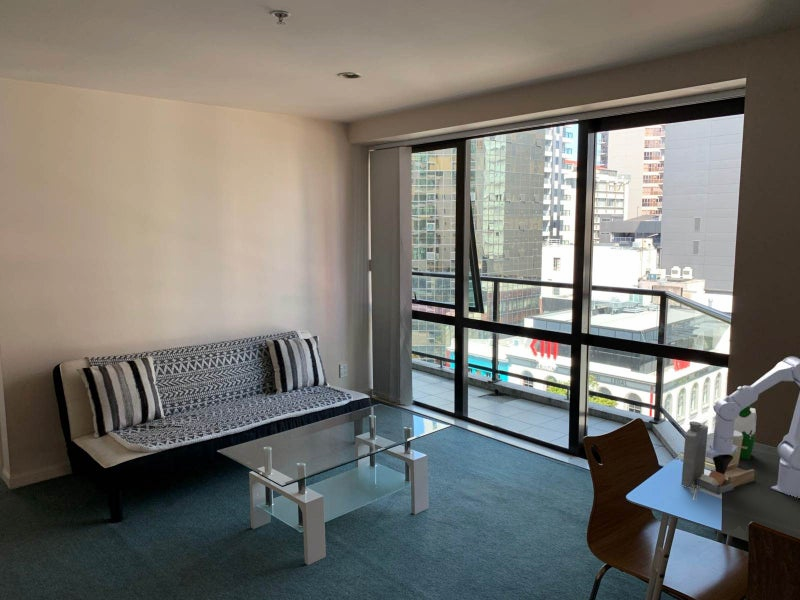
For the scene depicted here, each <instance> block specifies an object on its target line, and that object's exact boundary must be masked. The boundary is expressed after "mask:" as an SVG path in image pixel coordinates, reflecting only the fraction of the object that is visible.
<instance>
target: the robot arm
mask: <svg viewBox="0 0 800 600" xmlns="http://www.w3.org/2000/svg"><path fill="white" fill-rule="evenodd" d="M780 382H795V383H796V384H797V385H798V387H800V358H799V357H797V356H788V357H785V358H784V359H783V360H781V361H780V362H778V363H777V364H776V365H775V366H774V367H773V368H772V369H771V370H769V371H768V372H766V373H765V374H764V375H762V376H761V377H760V378H759V379H757V380H756V381H754V383H752V384H751V385H743V386H741V385H740V386H738V387H737V388H736V391H733V392H732V393H731V394H730V395H726V396H725V397H724V398H723V399H722V398H721V399H718V400H717V401H716V402H715V404H714V405H713V406H712V408H713V411H714V413H715V421H714V430H713V431H714V432H713V438H712V439H713V441H712V444H709V448H710V449H708V450H706V457H705V458H708V459H711V460H712V461H713V463H714V466H715V467H714V469H716V472H719V473H722V474H725V471H726V469H727V467H728V465H729V463H730V462H731V460H732V459H733V456H732V455H729V454H732V453H733V452H737V450H738V446H736V445H733V436H734V426H735V419H736V418H737V417H738V416H739V413H740V411H741V410H743V409H744V408H746V407H747V406H749V405H750V406H751V405H752V404H753V403H755V402H756V401H758V399H759V395H760V394H761V393H763V392H765V391H766V390H769V389H770V388H772V387H774V386H775V385H777V384H778V383H780ZM776 452H777V455H778V456H780V457H779V458H780V459H779V463H778V464H779V465H778V466H779V467H778V473H777V474H778V476H777V483H776V485H773V486H771V487H770V489H772V490H774V491H777V492H780V493H781V494H785V495H788V496H790V495H791V496H790V497H793V496H794V497H793V498H796V497H797V496H798V498H800V392H799V394H798V398H797V401H796V403H795V408H794V411H793V416H792V419H791V424H790V427H789V431H788V433H787V434H785V435H784V436H783V438H782V441H781V442H780V443H779V444H778V445H777V451H776ZM798 498H797V499H798Z"/></svg>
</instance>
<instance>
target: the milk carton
mask: <svg viewBox="0 0 800 600" xmlns="http://www.w3.org/2000/svg"><path fill="white" fill-rule="evenodd" d="M756 427H757V412H756V408H753V407H751V404H750V405H749V406H747V407H746V408H744V409H743V410H741V411H740V413H739V416H738V417H737V418H736V419H735V426H734V430H736V431H739V432H741V433H742V435H743V439H742V445H741V451H740V457H739V459H745V460H750V459H751V457H752V453H753V449H754V445H755V438H756Z"/></svg>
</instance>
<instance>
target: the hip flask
mask: <svg viewBox="0 0 800 600" xmlns="http://www.w3.org/2000/svg"><path fill="white" fill-rule="evenodd" d="M688 425H689V429H687V431H686V432H685V435H684V447H683V448H684V449H683V459H682V460H683V461H682V471H681V483H680V484H682V485H684V486H686V487H685V488H688V487H690V488H692V487H693V485H692V484H694V483H695V482H696V481H695V480H696V479H698V478H700V477H701V475H702V474H705V466H706V458H707V457H706V451H707V443H708V434H709V433H708V432H709V431H708V429H709V426H707V425H705V424H702V423H701V422H698V421H689V424H688ZM694 481H695V482H694ZM693 482H694V483H693ZM682 485H681V486H682ZM684 486H683V487H684ZM691 486H692V487H691Z"/></svg>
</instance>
